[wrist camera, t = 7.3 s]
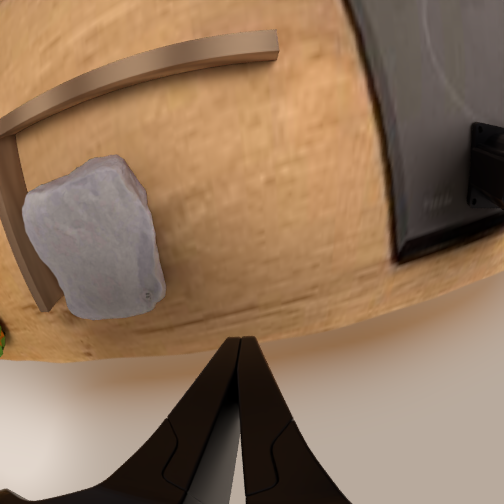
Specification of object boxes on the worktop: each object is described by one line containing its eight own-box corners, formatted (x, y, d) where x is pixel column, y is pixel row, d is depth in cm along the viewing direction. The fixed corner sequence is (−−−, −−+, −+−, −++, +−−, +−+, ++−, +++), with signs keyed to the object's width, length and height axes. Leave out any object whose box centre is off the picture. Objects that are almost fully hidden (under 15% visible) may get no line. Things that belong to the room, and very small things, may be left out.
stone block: (138, 137, 18) (34, 187, 18) (120, 145, 14) (3, 207, 14) (189, 274, 24) (92, 302, 24) (188, 310, 20) (78, 338, 20)
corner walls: (274, 42, 13) (276, 29, 11) (293, 284, 21) (296, 310, 19) (5, 125, 15) (-20, 132, 13) (56, 292, 23) (40, 311, 20)
